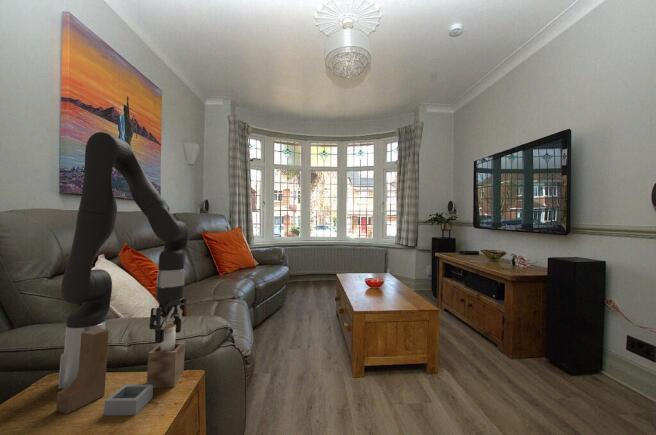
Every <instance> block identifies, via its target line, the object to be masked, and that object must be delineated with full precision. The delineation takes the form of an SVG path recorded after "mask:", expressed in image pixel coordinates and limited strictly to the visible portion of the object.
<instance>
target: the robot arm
mask: <svg viewBox="0 0 656 435" xmlns="http://www.w3.org/2000/svg"><path fill="white" fill-rule="evenodd" d="M136 156H137V155H136V154H135V152H134V151H133V148H132V147H131V146H130V144H129V143H128V142H127V141H125V140H123V139H121V138H119V137H117V136H115V135H112V134H111V133H108V132H104V131H98V132H95V133H93V134H92V135H90V137H89V138H88V139H87V141H86V144H85V150H84V175H83V182H82V183H83V184H82V187H81V188H82V189H81V195H80V202H79V205H78V206H79V207H78V211H77V217H76V221H75V222H76V223H75V229H74V230H75V231H74V236H73V240H72V245H71V249H70V255H69V257H68V260H67V263H66V267H65V270H64V274H63V277H62V281H61V285H60V293H61V297H62V299H63V300H64V302H65V303H67V304H69V305H70V304H71V305H75V304H81V305H80V306H79V307H78V309H76V310H75V311H73V312H72V313H70V314H69V315H68V316H67V318H66V320H65V321H66V322H65V323H66V325H65V336H64V338H65V339H64V351H63V353H62V354H61V355H60V363H59V373H58V374H59V375H58V388H57V389H59V390H63V389H65V388H67V387H68V386H70V385H71V383H72V382H73V381H74V380H75V379H76V376H77V373H78V370H79V358H80V344H81V333H82V332H85V331H89V330H92V329H96V328H101V329H106V324H107V322H106V321H107V318H106V317H107V315H108V313H109V312H110V306H111V298H112V293H113V292H112V291H113V280H112V277H111V274H110V273H109V272H108V271H107V270H105V269H103V268H99V269H98V268H96V269H93V264H94V261H95V258H96V256H97V254H98V252H99V251H100V250H101V248H102V247H103V246H104V245H105V243H106V242H107V240H108V239H109V238H110V236H111V235H112V233H113V232H114V230H115V226H116V222H117V220H116V219H117V215H118V204H117V201H116V197H115V193H114V189H113V186H112V176H113V175H112V174H113V169H114V170H116V171H117V172H118V173H119V175H121V176H122V177H123V179H124V180H125V181H126V183H127V186H128V187H129V188H128V189H129V191H130V195H131V197H132V199H133V201H134V203H135V204H136V205H137V207H138V208H139V209H140V211H141V212H142V213H143V215H144V216H145V217H146V218H147V220H148V224H149V225H150V227H151V230H152V231H153V233H154V235H155V236H156V237H157V238H158V240H160V241H161V242H164V248H163V250H162V251H161V252H160V253H159V256H158V271H157V275H156V276H157V277H156V293H155V294H156V295H155V299H156V301H157V302H159V305H158V307H151V309H150V315H149V316H150V318H149V330H154V342H155V343H157V344H160V343H162V342H163V341H164V327H165V325H167V323H168V322H169V321H170V319H173V323H172V324H175V325H176V333H177V334H179V333H181V332H182V321H183V319H184V318H185V317H186V315H187V299H186V298H184V297H185V295H184V294H185V269H184V268H185V253H186V250H187V244H188V242H189V241H188V239H189V228H188V226H187V224H186V223H185V222H183V221H181V220H176V219H174V217H173V216H172V214H171V213H170V207H169V205H168V203H167V201H166V200H165V199H164V197H163V196H162V195H161V193H159V191H158V189H157V188H156V187H155V186H154V185H153V183H152V182H151V181H150V179H149V178H148V176H147V174H146V173H145V171H144V169H143V167H142V166H141V164H140V162H139V160H138V158H137V157H136Z"/></svg>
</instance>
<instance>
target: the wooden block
mask: <svg viewBox="0 0 656 435" xmlns="http://www.w3.org/2000/svg"><path fill="white" fill-rule="evenodd" d="M109 331H110V330H109V329H106V328H105V329H101V328H96V329H92V330H89V331H85V332H82V333H81V344H80V358H79V370H78V373H77V376H76V379H75V380H74V381H73V382H72V383H71V385H70V386H68V387H67V388H65V389H60V391H58V392H57V395H56V404H55V405H56V407H55V409H56V411H58V412H60V413H63V414H67V415H68V414H70V413H72V412H74V411H76V410H78V409H80V408H82V407H84V406H86V405H88V404H90V403H92V402H94V401H96V400H98V399H101V398H102V397H104V396H105V393H106V379H107V366H108V365H107V364H108V362H107V360H108V359H107V358H108V348H109V346H108V345H109Z"/></svg>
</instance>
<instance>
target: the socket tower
mask: <svg viewBox="0 0 656 435" xmlns="http://www.w3.org/2000/svg"><path fill="white" fill-rule="evenodd" d="M185 349H186V342H175V350H174V351H160V343H157V345H156V346H155V347H154V348H152V349H151V350H150V351H149V352H148V354H147V370H146V371H147V372H146V373H147V374H146V384H153V389H158V388H162V387H163V388H174V387H175V386H176V385H177V384H178V382H179V381H180V380H179V378H180V377H181V375H182V374H183V373H184V372H185V352H186V350H185ZM184 374H185V373H184ZM184 374H183V375H184ZM181 378H182V377H181ZM181 378H180V379H181ZM178 380H179V381H178ZM177 381H178V382H177ZM176 383H177V384H176ZM175 384H176V385H175ZM173 386H174V387H173Z"/></svg>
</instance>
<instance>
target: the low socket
mask: <svg viewBox="0 0 656 435" xmlns="http://www.w3.org/2000/svg"><path fill="white" fill-rule="evenodd" d="M153 392H154V388H153V384H147V383H145V384H124V385H122V386H121V387H120V388H118V390H116V391H115V392H114V393H113V394H112V395H110V396H109V397H108V398H106V399H105V400H104V404H103V405H104V407H103V408H104V409H103V416H137V414H138V413H139V412H140V411H141V410H142V409H143V408H144V407H145V406H146V405H148V403H149V402H150V401H151V400H152V399H153V395H154V393H153Z"/></svg>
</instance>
